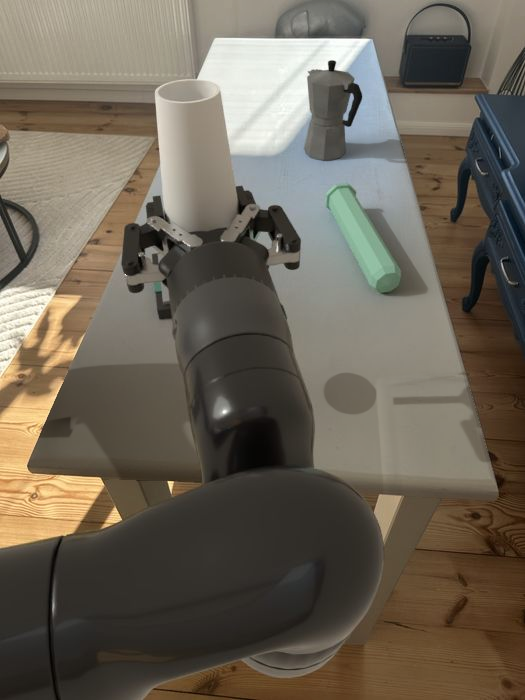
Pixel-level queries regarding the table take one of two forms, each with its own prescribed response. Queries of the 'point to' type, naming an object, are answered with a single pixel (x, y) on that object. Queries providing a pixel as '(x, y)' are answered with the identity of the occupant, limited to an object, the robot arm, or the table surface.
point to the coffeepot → (330, 111)
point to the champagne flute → (195, 156)
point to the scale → (161, 293)
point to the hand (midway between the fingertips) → (199, 200)
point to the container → (363, 238)
